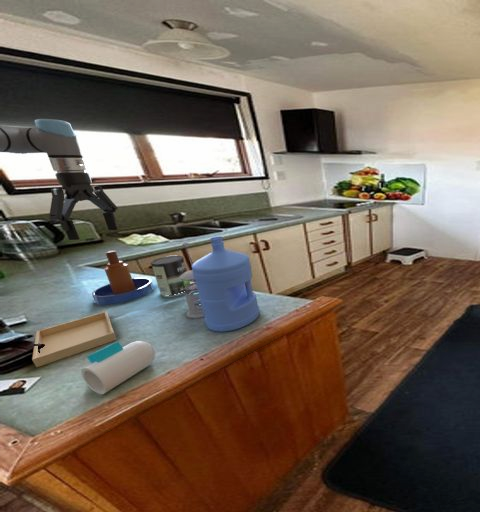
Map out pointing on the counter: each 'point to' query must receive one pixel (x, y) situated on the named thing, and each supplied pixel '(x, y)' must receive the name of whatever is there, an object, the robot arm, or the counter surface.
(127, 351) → the mug
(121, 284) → the bottle
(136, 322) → the counter surface
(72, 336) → the tray
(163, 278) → the coffee can
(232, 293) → the water jug
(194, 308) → the french press
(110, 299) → the bowl
